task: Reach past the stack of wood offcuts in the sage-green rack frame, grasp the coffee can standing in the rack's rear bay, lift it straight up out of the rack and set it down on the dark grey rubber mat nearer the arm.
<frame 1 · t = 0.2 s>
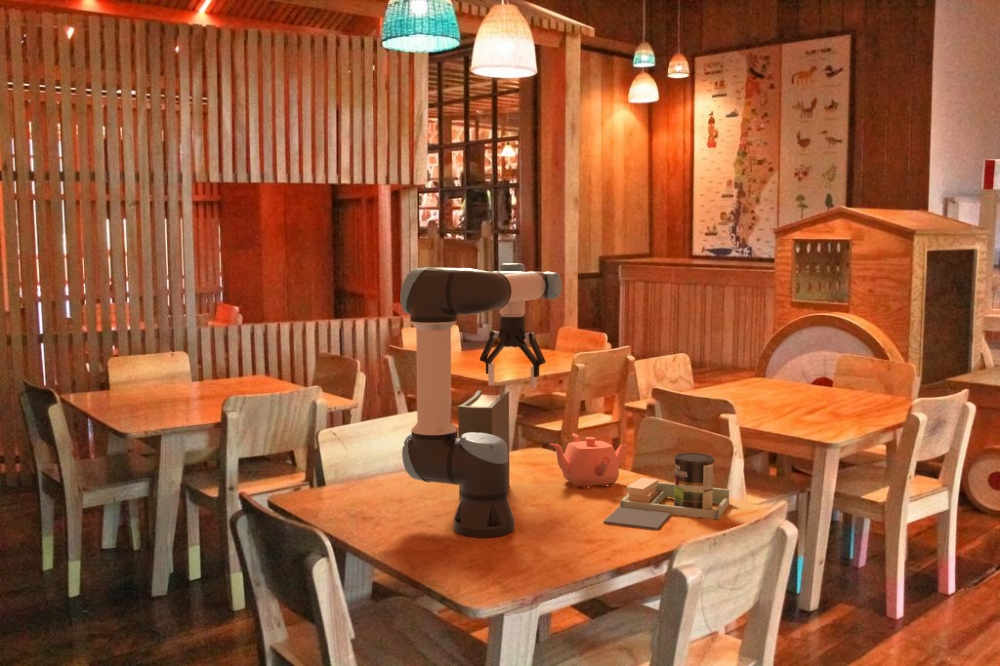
hand: (512, 386, 285), 28 cm above the table, fingers open, 13 cm apart
mat: (637, 519, 246), on the table
book: (484, 495, 269), on the table
teapot: (587, 484, 281), on the table
coffee can: (693, 509, 255), resting in rack
rack: (675, 505, 258), on the table
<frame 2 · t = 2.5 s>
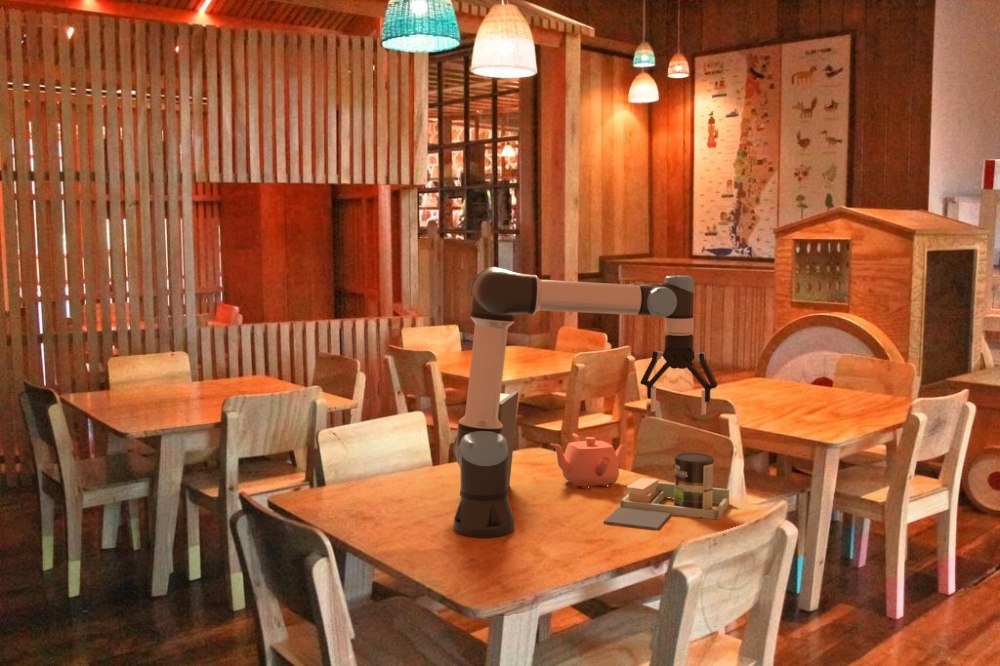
hand: (678, 412, 256), 25 cm above the table, fingers open, 13 cm apart
book: (484, 491, 269), point 1 cm above the table, touching arm
everything else where it was.
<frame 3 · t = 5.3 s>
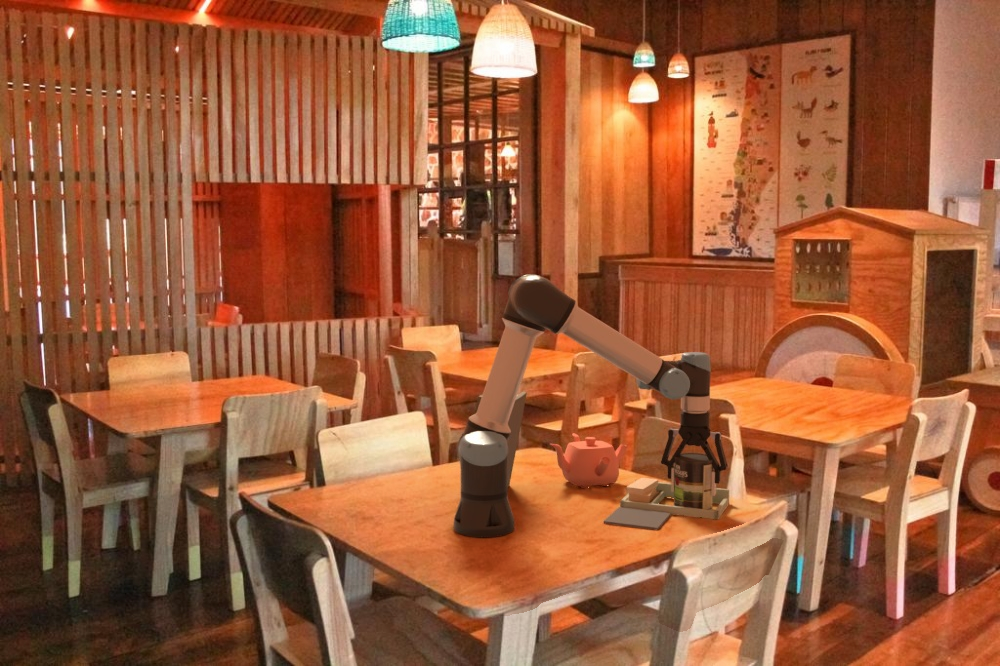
hand: (693, 492, 255), 4 cm above the table, fingers closed on coffee can, 10 cm apart
coffee can: (693, 509, 255), resting in rack, touching gripper
when the fingers open (6 cm above the table, at t = 11.7 s): coffee can drops 1 cm, resting on mat.
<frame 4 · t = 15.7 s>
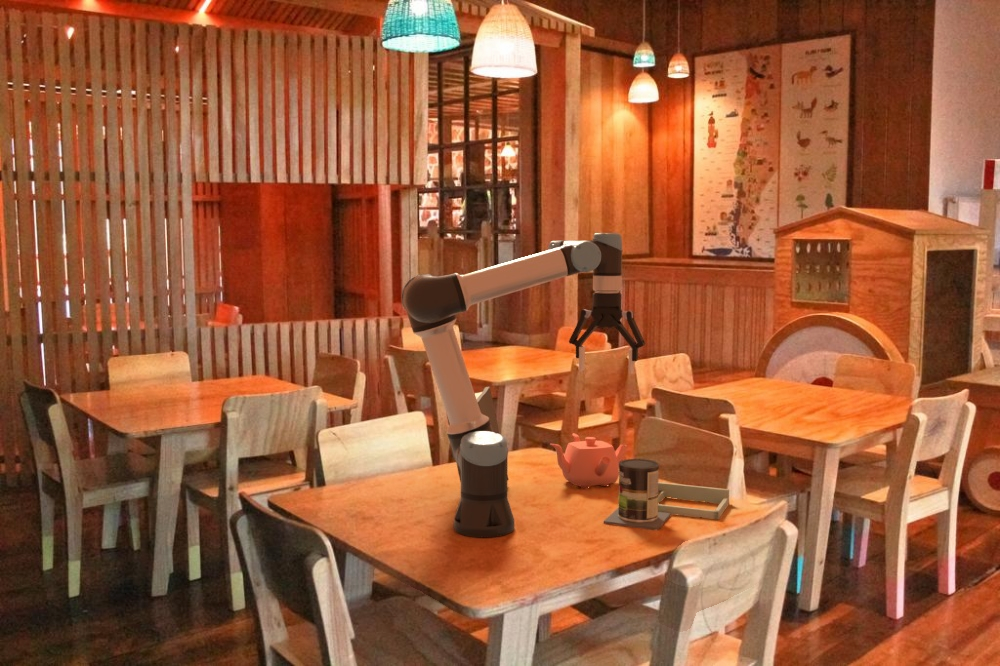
hand: (606, 372, 253), 37 cm above the table, fingers open, 13 cm apart
book: (487, 492, 268), point 1 cm above the table, touching arm
coffee can: (638, 517, 245), resting on mat
everything else where it was.
at the end: coffee can inside the target area (0.1 cm from its centre), resting on mat; coffee can tilted 0°; the gripper is holding nothing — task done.
